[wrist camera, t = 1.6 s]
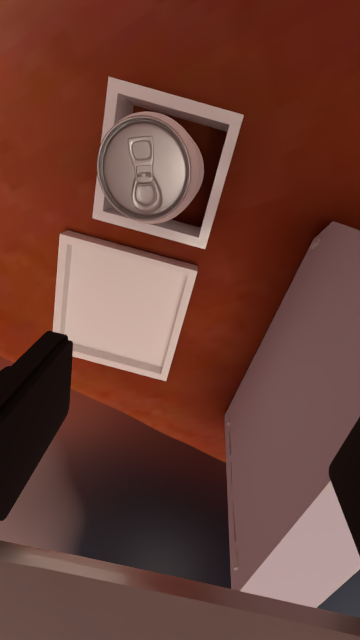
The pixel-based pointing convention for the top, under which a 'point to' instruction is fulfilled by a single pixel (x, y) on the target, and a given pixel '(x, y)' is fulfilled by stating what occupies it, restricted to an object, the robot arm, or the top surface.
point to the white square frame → (130, 95)
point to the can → (149, 167)
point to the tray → (120, 303)
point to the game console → (298, 433)
